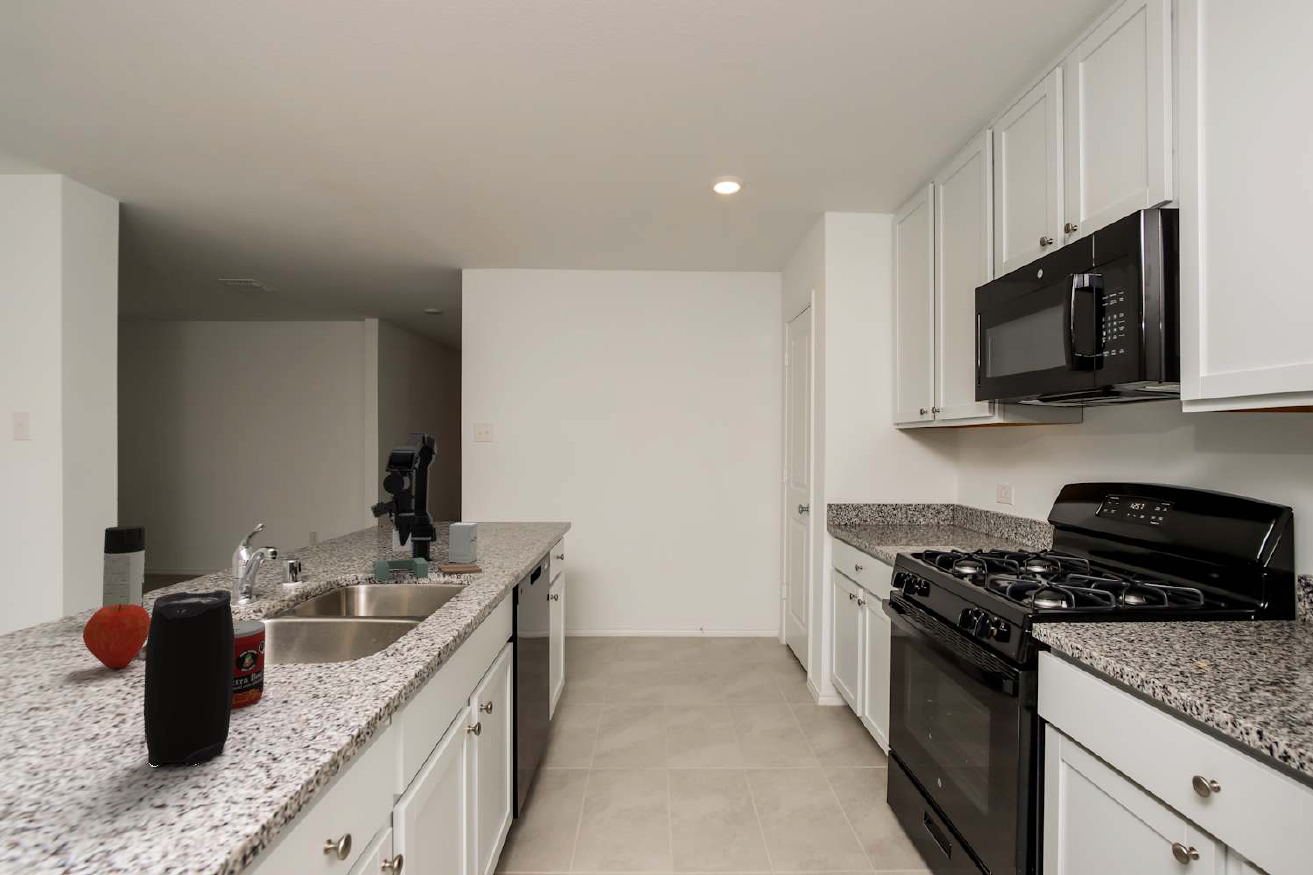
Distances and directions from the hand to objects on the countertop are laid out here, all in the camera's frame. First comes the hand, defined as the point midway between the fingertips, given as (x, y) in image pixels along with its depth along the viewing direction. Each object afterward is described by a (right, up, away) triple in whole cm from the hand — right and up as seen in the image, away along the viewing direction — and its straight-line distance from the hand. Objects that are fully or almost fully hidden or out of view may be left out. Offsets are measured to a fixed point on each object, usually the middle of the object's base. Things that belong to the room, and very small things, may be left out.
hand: (401, 544), depth 184 cm
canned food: (+12, -8, -90) cm, 92 cm away
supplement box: (+11, -10, +24) cm, 28 cm away
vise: (-2, -9, +2) cm, 10 cm away
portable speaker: (+17, -8, -107) cm, 109 cm away
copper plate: (+14, -10, +9) cm, 19 cm away
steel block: (0, -2, 0) cm, 2 cm away
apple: (-16, -8, -78) cm, 80 cm away
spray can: (-38, -8, -52) cm, 65 cm away
